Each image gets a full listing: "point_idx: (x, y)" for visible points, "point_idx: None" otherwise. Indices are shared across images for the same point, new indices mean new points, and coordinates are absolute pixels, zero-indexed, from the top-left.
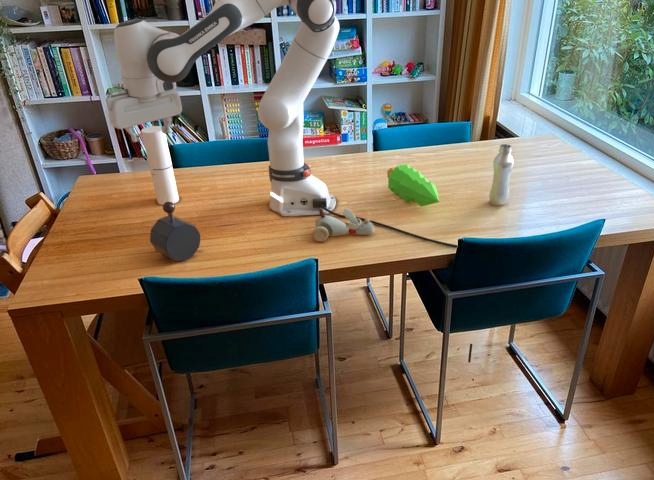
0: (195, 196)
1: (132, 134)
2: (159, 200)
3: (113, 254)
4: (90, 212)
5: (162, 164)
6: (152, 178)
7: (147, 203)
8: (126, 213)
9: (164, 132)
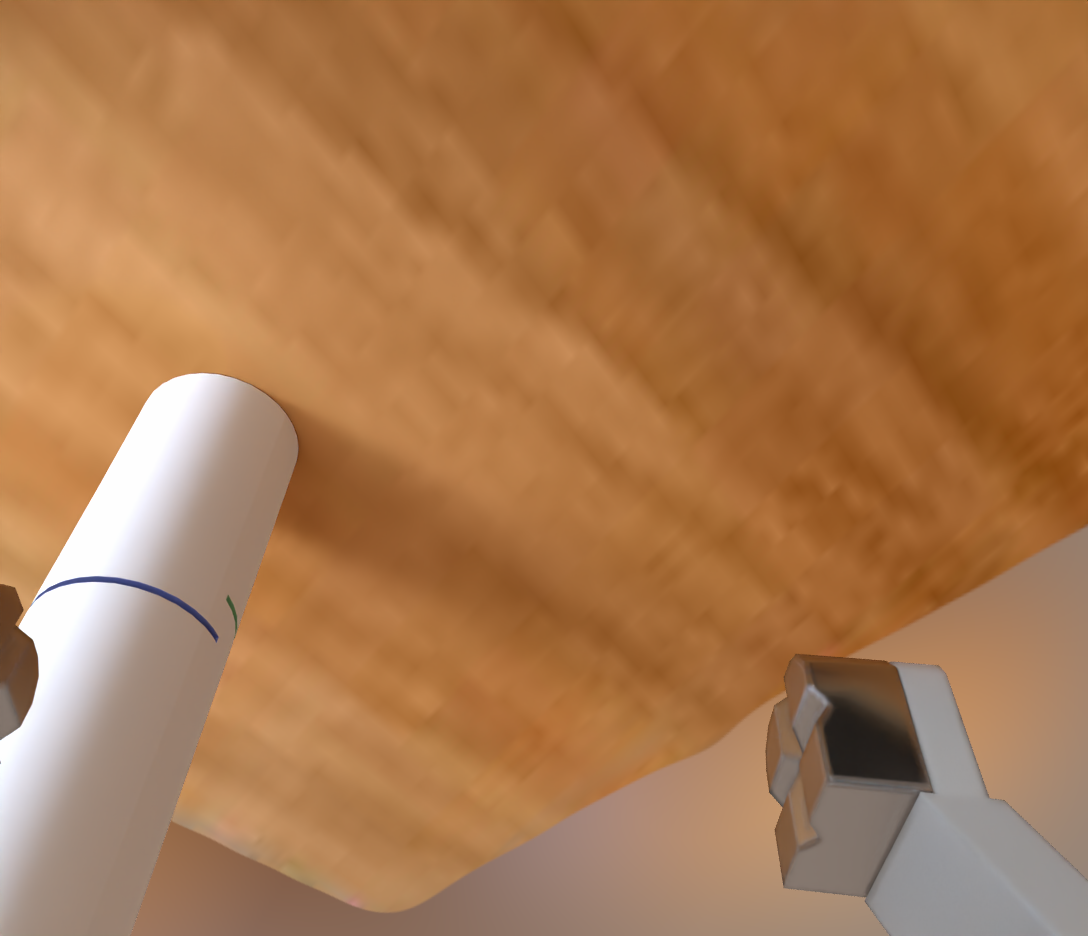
0: (22, 340)
1: (1062, 857)
2: (288, 453)
3: (1063, 56)
4: (650, 648)
5: (125, 621)
6: (248, 598)
7: (350, 505)
8: (532, 496)
9: (7, 631)
